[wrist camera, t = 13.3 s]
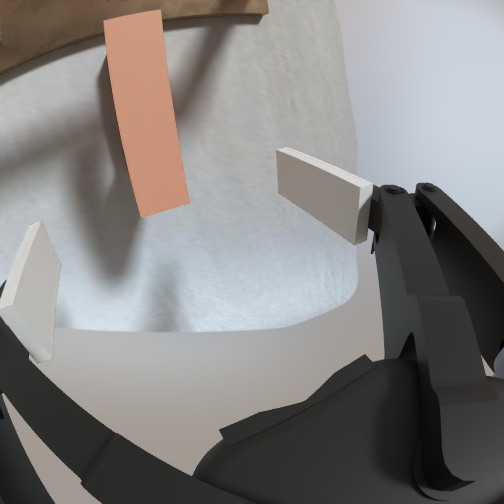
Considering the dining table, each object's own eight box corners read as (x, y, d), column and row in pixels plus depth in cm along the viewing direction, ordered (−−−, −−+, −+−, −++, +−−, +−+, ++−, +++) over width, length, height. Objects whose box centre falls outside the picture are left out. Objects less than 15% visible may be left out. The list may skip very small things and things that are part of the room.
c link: (128, 170, 25) (141, 218, 16) (106, 54, 19) (103, 20, 10) (158, 161, 26) (190, 203, 17) (139, 46, 20) (160, 9, 11)
